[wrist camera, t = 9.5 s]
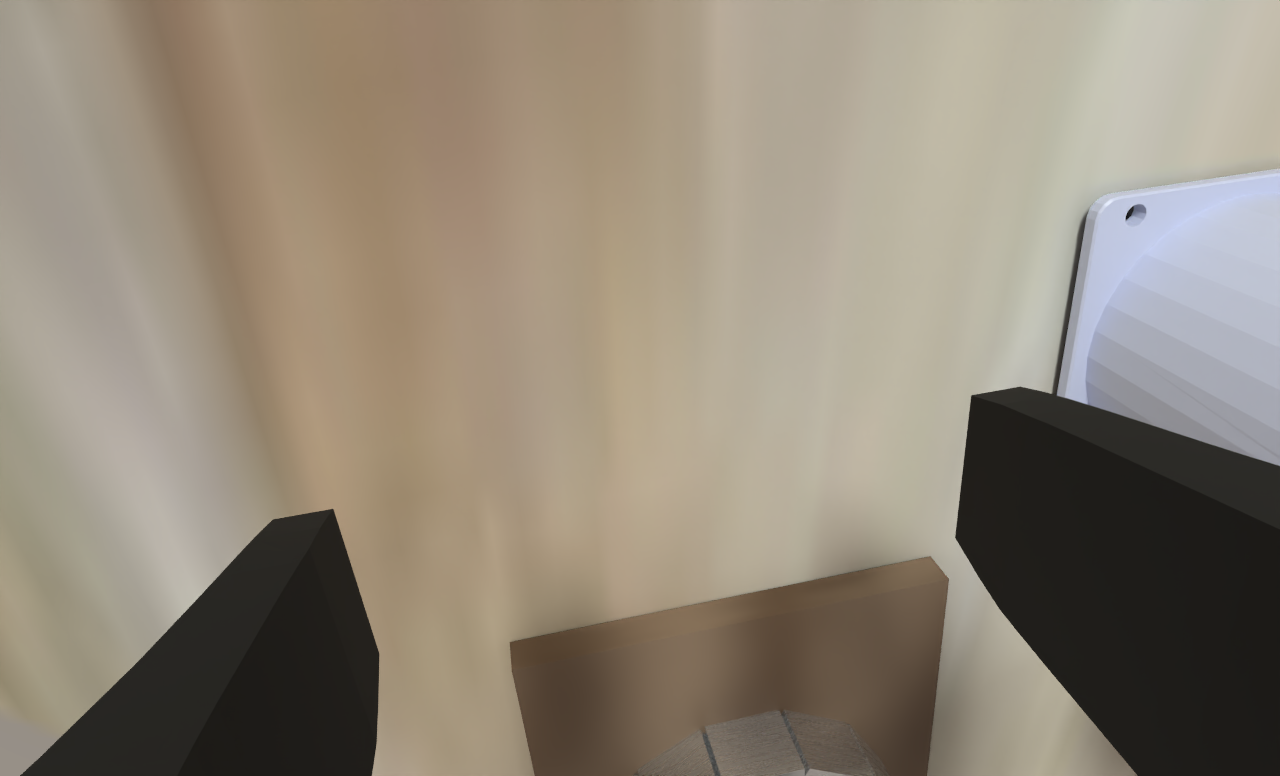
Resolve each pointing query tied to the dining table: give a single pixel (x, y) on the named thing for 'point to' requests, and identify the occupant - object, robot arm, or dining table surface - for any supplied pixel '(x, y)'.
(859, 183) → the dining table surface
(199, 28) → the dining table surface
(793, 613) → the collar board
